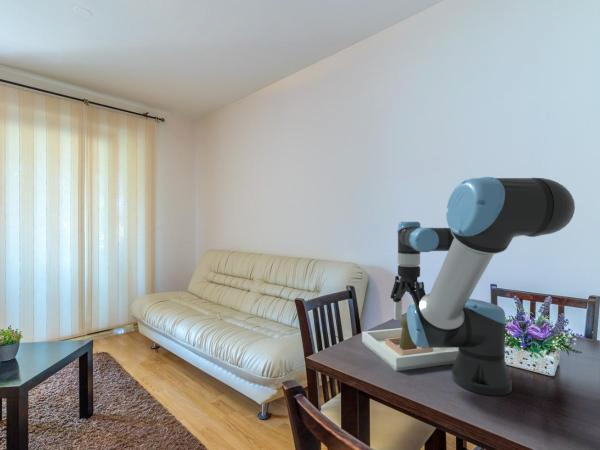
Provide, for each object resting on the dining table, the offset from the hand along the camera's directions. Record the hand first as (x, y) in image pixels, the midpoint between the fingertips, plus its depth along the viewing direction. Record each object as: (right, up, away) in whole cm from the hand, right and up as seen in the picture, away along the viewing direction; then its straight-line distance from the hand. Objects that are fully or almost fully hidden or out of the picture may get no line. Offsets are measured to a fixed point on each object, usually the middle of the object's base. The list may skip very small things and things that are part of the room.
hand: (408, 325), depth 114 cm
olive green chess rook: (0, -9, 0) cm, 9 cm away
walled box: (0, -9, 0) cm, 9 cm away
